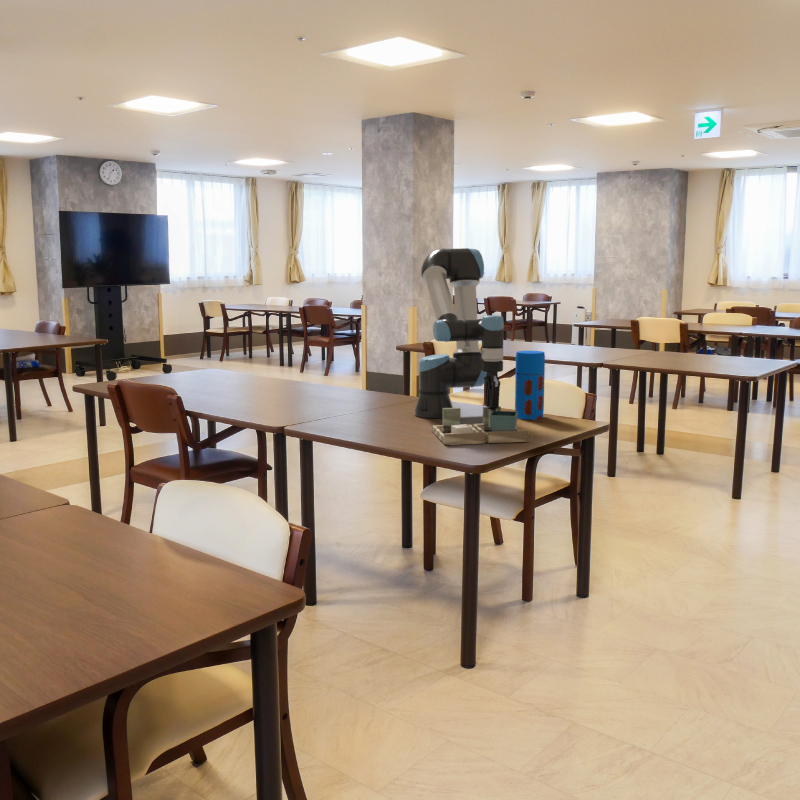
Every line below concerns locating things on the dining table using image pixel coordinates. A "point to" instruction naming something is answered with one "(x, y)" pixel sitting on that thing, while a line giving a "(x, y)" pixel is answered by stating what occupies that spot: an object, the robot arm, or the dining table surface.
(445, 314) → the robot arm
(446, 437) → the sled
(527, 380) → the thermos
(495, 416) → the flower pot
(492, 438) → the oak sled
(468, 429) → the cream cube
